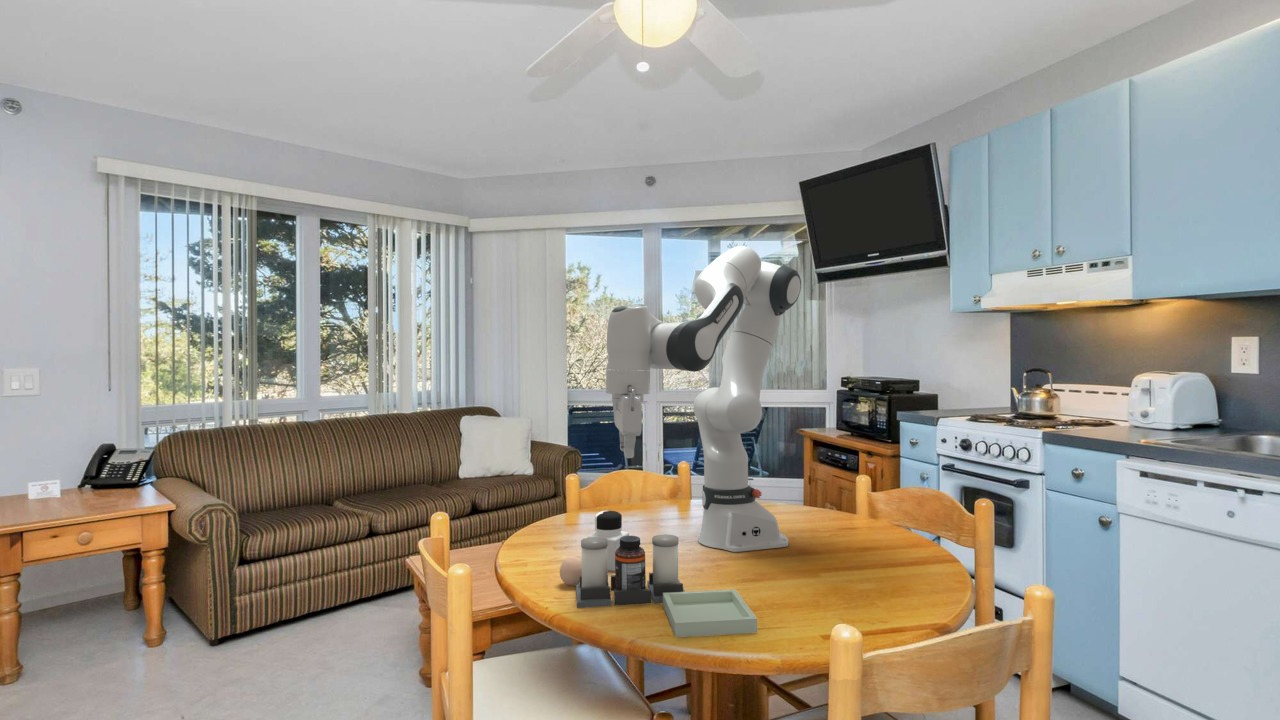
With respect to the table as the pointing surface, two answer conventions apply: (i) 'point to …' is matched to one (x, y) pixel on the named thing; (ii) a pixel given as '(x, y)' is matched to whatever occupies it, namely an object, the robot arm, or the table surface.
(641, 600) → the fuse holder
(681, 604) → the tray
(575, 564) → the egg
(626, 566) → the supplement bottle
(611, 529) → the medicine bottle
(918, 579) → the table surface
